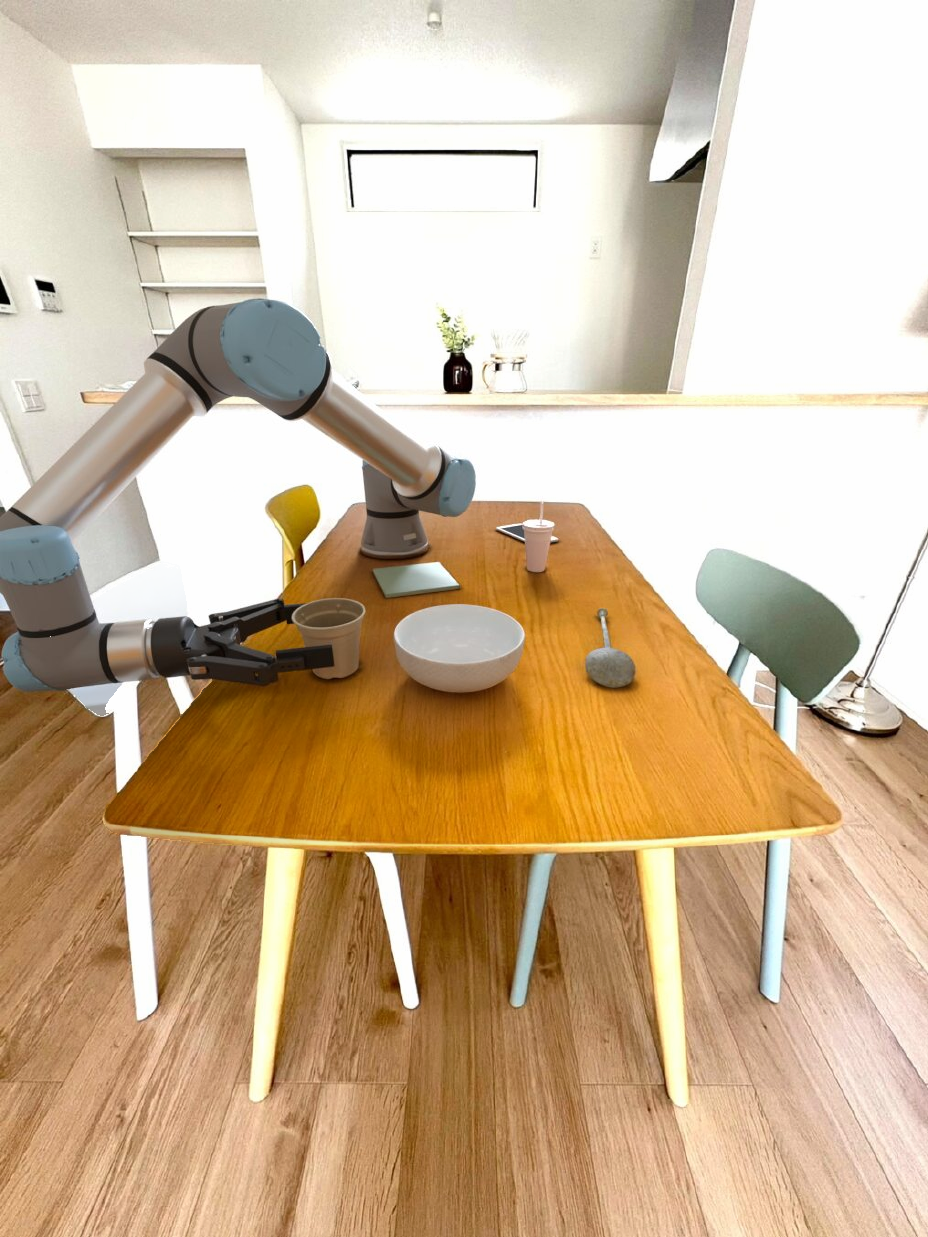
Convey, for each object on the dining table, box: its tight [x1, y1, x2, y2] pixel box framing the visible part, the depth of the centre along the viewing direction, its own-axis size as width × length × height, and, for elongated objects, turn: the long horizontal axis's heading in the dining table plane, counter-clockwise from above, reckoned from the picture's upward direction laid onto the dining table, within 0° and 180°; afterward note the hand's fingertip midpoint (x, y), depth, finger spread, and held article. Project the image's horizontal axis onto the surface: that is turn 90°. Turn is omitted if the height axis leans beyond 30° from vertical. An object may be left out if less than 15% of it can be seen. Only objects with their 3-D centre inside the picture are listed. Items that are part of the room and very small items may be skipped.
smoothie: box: [522, 501, 555, 573], centre depth 105 cm, size 6×6×14 cm
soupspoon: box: [584, 607, 636, 689], centre depth 77 cm, size 22×3×7 cm
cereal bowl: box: [393, 603, 526, 694], centre depth 69 cm, size 17×17×7 cm
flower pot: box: [292, 597, 366, 680], centre depth 70 cm, size 9×9×9 cm
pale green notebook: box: [372, 561, 460, 599], centre depth 102 cm, size 14×14×1 cm
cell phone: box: [495, 523, 559, 544], centre depth 130 cm, size 8×16×1 cm, turn 30°
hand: (333, 630), depth 70 cm, fingers open, 13 cm apart
